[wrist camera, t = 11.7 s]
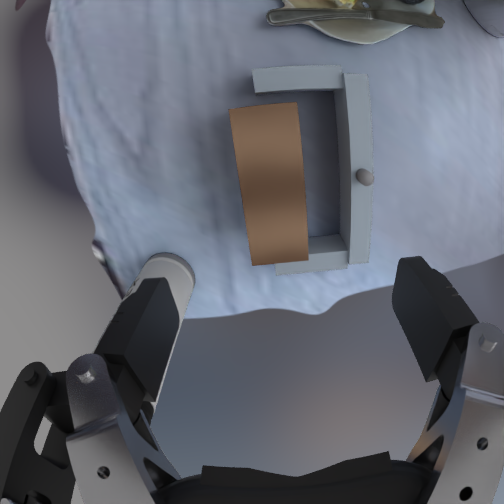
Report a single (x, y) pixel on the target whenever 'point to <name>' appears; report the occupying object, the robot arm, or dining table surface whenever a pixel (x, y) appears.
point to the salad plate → (357, 17)
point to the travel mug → (181, 289)
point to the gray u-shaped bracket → (350, 161)
